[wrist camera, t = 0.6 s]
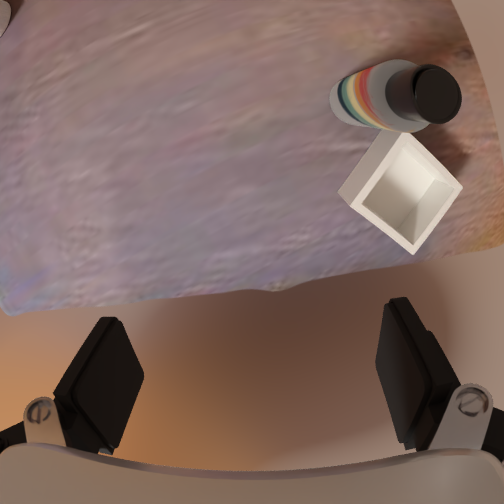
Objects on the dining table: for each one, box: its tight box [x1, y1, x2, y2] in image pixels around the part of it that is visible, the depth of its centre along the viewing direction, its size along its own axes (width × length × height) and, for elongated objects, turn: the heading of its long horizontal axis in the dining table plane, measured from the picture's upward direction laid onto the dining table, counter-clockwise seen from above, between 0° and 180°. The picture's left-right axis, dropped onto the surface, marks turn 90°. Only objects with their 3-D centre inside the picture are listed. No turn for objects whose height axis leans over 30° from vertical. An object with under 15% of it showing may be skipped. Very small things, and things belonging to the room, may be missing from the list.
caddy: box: [338, 129, 463, 255], centre depth 33 cm, size 10×10×6 cm
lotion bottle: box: [329, 59, 462, 133], centre depth 23 cm, size 6×6×20 cm
